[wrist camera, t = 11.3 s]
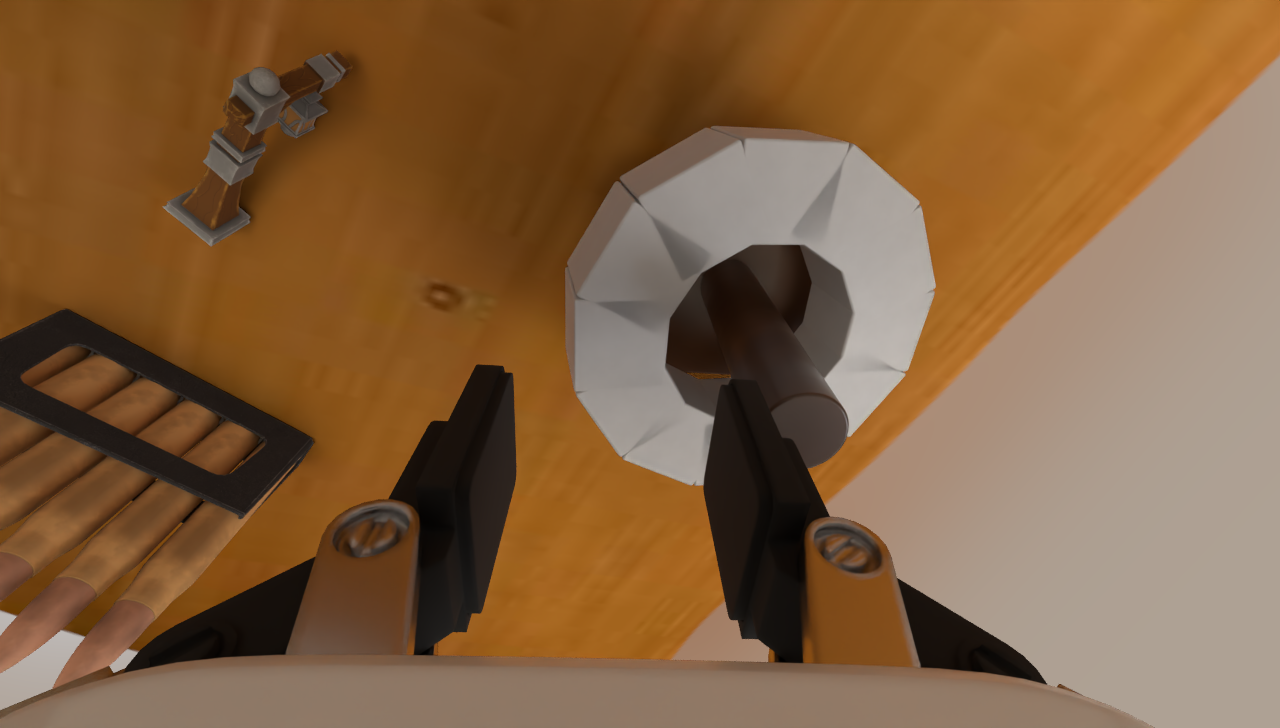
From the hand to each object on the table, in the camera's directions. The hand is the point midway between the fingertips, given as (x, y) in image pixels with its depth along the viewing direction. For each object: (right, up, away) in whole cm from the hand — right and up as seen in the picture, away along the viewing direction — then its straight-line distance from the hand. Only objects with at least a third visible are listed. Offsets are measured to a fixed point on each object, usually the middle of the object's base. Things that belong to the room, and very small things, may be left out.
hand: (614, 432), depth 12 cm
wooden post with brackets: (-13, +10, +7) cm, 18 cm away
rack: (+4, +5, +10) cm, 12 cm away
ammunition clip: (-19, 0, +12) cm, 23 cm away
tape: (+4, +4, +7) cm, 9 cm away
